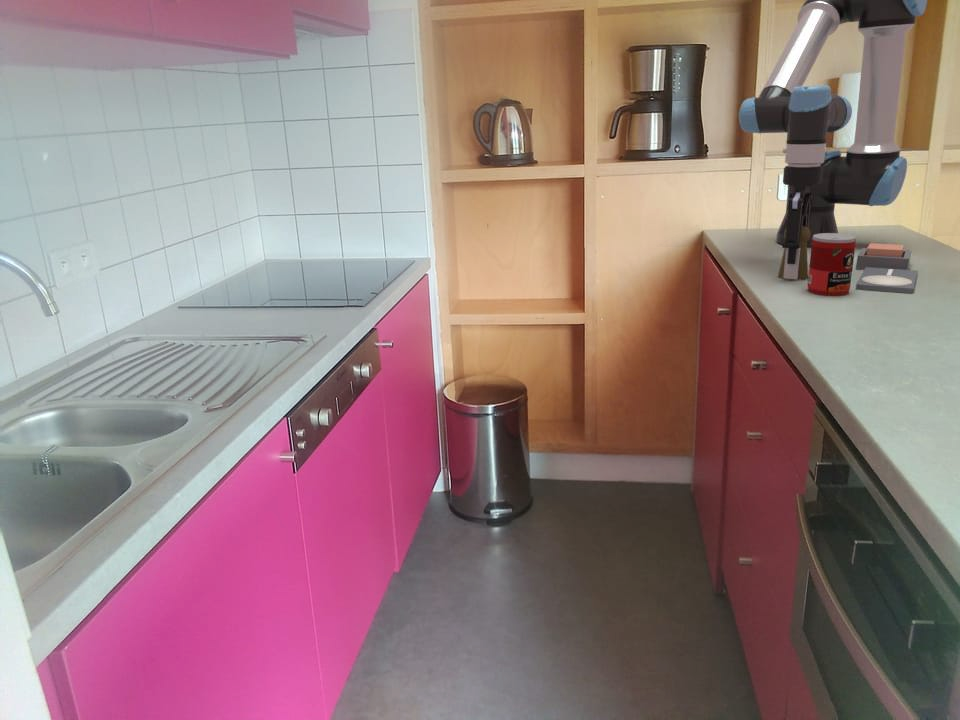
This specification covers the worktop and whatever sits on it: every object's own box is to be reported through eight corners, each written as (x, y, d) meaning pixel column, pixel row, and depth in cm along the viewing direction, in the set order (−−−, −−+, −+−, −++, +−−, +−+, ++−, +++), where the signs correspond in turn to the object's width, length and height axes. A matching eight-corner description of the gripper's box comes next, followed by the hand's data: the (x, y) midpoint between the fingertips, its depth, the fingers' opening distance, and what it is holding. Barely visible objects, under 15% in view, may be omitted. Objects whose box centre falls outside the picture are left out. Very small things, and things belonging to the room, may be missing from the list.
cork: (810, 280, 161) (816, 228, 158) (780, 279, 162) (785, 228, 159) (805, 274, 167) (810, 223, 163) (775, 273, 168) (780, 223, 164)
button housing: (860, 260, 178) (862, 248, 177) (909, 263, 173) (911, 250, 172) (855, 269, 170) (857, 255, 169) (907, 272, 165) (908, 258, 164)
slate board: (865, 271, 167) (865, 266, 167) (917, 275, 162) (917, 270, 162) (855, 289, 152) (856, 283, 152) (912, 293, 148) (913, 288, 147)
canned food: (831, 298, 147) (838, 241, 143) (798, 290, 153) (803, 235, 150) (858, 292, 150) (865, 236, 147) (824, 285, 157) (830, 231, 153)
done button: (868, 256, 175) (870, 243, 174) (902, 258, 172) (903, 244, 171) (865, 261, 170) (867, 248, 169) (900, 263, 166) (901, 250, 165)
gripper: (792, 161, 167) (783, 265, 174) (775, 168, 151) (765, 283, 159) (829, 161, 163) (818, 268, 170) (816, 169, 148) (804, 286, 155)
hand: (793, 275), depth 164 cm, fingers closed on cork, 6 cm apart
